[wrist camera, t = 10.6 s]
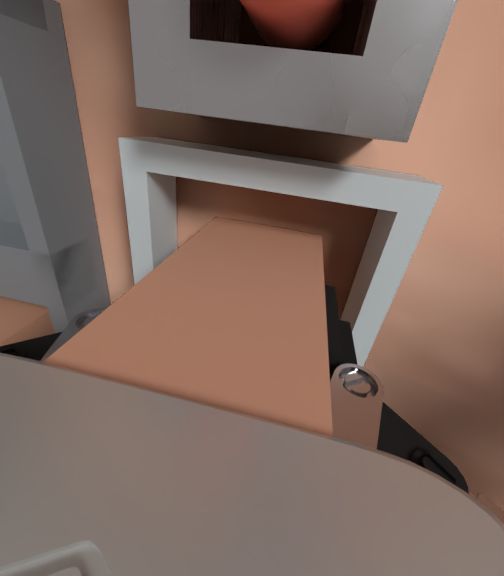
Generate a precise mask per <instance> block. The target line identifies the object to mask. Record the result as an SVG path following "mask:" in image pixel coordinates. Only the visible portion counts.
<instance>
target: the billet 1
mask: <svg viewBox="0 0 504 576" xmlns="http://www.w3.org/2000/svg"><path fill="white" fill-rule="evenodd" d="M50 334H55V331H54V328H53V325H52V322H51V318H50V315H49V312H48V309H47V307H46V306H41V305H37V304H33V303H28V302H24V301H20V300H15V299H11V298H7V297H2V296H0V346H4V345H8V344H12V343H16V342H21V341H25V340H29V339H33V338H38V337H42V336H46V335H50Z"/></svg>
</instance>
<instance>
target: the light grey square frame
mask: <svg viewBox="0 0 504 576" xmlns="http://www.w3.org/2000/svg"><path fill="white" fill-rule="evenodd" d="M118 141H119V149H120V158H121V167H122V176H123V185H124V194H125V203H126V212H127V221H128V230H129V238H130V247H131V256H132V265H133V274H134V283H135V284H137V283H138V282H139V281H140V280H141V279H143V278H144V277H145V276H146V275H147V274H149V273H150V272H151V271H152V270H153V269H155V268H156V267H157V266H158V265H159V264H160V263H162V262H163V261H164V260H165V259H166V258H168V257H169V256H170V255H171V254H172V253H174V252H175V251H176V250H177V206H176V176H177V177H183V178H189V179H195V180H202V181H208V182H214V183H220V184H226V185H232V186H239V187H245V188H251V189H257V190H263V191H270V192H276V193H282V194H288V195H294V196H301V197H307V198H313V199H319V200H325V201H332V202H338V203H344V204H350V205H356V206H363V207H369V208H375V209H378V212H377V215H376V218H375V221H374V223H373V226H372V229H371V232H370V235H369V238H368V241H367V244H366V247H365V250H364V252H363V255H362V258H361V261H360V264H359V267H358V270H357V273H356V276H355V279H354V282H353V284H352V287H351V290H350V293H349V296H348V299H347V302H346V305H345V308H344V311H343V314H342V316H341V319H340V320H343V321H348V322H350V325H351V330H352V336H353V342H354V347H355V353H356V358H357V364H358V365H359V366H362V367H363V366H364V364H365V361H366V359H367V357H368V354H369V352H370V350H371V348H372V345H373V343H374V341H375V339H376V336H377V334H378V332H379V330H380V327H381V325H382V323H383V321H384V318H385V316H386V314H387V312H388V309H389V307H390V305H391V302H392V300H393V298H394V296H395V293H396V291H397V289H398V287H399V284H400V282H401V280H402V278H403V275H404V273H405V271H406V269H407V266H408V264H409V262H410V260H411V257H412V255H413V253H414V250H415V248H416V246H417V244H418V241H419V239H420V237H421V235H422V232H423V230H424V228H425V226H426V223H427V221H428V219H429V217H430V214H431V212H432V210H433V208H434V205H435V203H436V201H437V199H438V196H439V194H440V192H441V189H442V187H443V185H441V184H438V183H436V182H433V181H431V180H428V179H426V178H424V177H421V176H419V175H413V174H406V173H400V172H393V171H386V170H379V169H372V168H365V167H358V166H352V165H345V164H338V163H331V162H324V161H317V160H310V159H303V158H297V157H290V156H283V155H276V154H269V153H262V152H255V151H249V150H242V149H235V148H228V147H221V146H214V145H207V144H200V143H194V142H187V141H180V140H173V139H166V138H159V137H118Z"/></svg>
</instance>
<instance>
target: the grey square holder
mask: <svg viewBox="0 0 504 576" xmlns="http://www.w3.org/2000/svg"><path fill="white" fill-rule="evenodd" d="M456 3H457V0H365V2H364V6H363V10H362V15H361V19H360V23H359V28H358V32H357V36H356V41H355V45H354V49H353V53H352V55H346V54H336V53H326V52H316V51H306V50H296V49H286V48H277V47H267V46H257V45H247V44H239V32H240V18H241V1H240V0H128V5H129V18H130V31H131V43H132V56H133V69H134V81H135V94H136V106H137V107H143V108H150V109H157V110H164V111H170V112H177V113H184V114H191V115H198V116H205V117H212V118H220V119H227V120H235V121H242V122H250V123H257V124H265V125H272V126H280V127H287V128H295V129H302V130H310V131H317V132H325V133H332V134H340V135H347V136H354V137H362V138H369V139H378V140H387V141H397V142H406V143H407V142H408V139H409V136H410V133H411V131H412V128H413V125H414V122H415V119H416V116H417V114H418V111H419V108H420V105H421V102H422V99H423V97H424V94H425V91H426V88H427V85H428V82H429V80H430V77H431V74H432V71H433V68H434V65H435V63H436V60H437V57H438V54H439V51H440V48H441V46H442V43H443V40H444V37H445V34H446V32H447V29H448V26H449V23H450V20H451V17H452V15H453V12H454V9H455V6H456Z"/></svg>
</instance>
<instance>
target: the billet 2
mask: <svg viewBox="0 0 504 576" xmlns="http://www.w3.org/2000/svg"><path fill="white" fill-rule="evenodd" d="M44 362H45V363H49V364H53V365H57V366H61V367H65V368H69V369H73V370H77V371H81V372H85V373H89V374H93V375H97V376H101V377H105V378H109V379H113V380H117V381H121V382H125V383H129V384H133V385H137V386H141V387H145V388H149V389H153V390H156V391H160V392H164V393H168V394H172V395H176V396H180V397H184V398H188V399H191V400H195V401H199V402H203V403H207V404H211V405H215V406H219V407H223V408H226V409H230V410H234V411H238V412H242V413H246V414H249V415H253V416H257V417H261V418H265V419H268V420H272V421H276V422H280V423H284V424H287V425H291V426H295V427H299V428H303V429H306V430H310V431H314V432H318V433H322V434H325V435H329V436H332V437H333V427H332V409H331V391H330V373H329V355H328V337H327V319H326V301H325V283H324V265H323V247H322V235H318V234H312V233H307V232H301V231H295V230H290V229H284V228H278V227H273V226H267V225H261V224H256V223H250V222H244V221H239V220H233V219H227V218H222V217H215V218H214V219H213V220H212V221H211V222H209V223H208V224H207V225H206V226H205V227H203V228H202V229H201V230H200V231H199V232H197V233H196V234H195V235H194V236H193V237H192V238H190V239H189V240H188V241H187V242H186V243H184V244H183V245H182V246H181V247H180V248H178V249H177V250H176V251H175V252H174V253H172V254H171V255H170V256H169V257H168V258H166V259H165V260H164V261H163V262H162V263H160V264H159V265H158V266H157V267H156V268H155V269H153V270H152V271H151V272H150V273H149V274H147V275H146V276H145V277H144V278H143V279H141V280H140V281H139V282H138V283H137V284H135V285H134V286H133V287H132V288H131V289H129V290H128V291H127V292H126V293H125V294H123V295H122V296H121V297H120V298H119V299H118V300H116V301H115V302H114V303H113V304H112V305H110V306H109V307H108V308H107V309H106V310H104V311H103V312H102V313H101V314H100V315H98V316H97V317H96V318H95V319H94V320H92V321H91V322H90V323H89V324H88V325H86V326H85V327H84V328H83V329H82V330H81V331H79V332H78V333H77V334H76V335H75V336H73V337H72V338H71V339H70V340H69V341H67V342H66V343H65V344H64V345H63V346H61V347H60V348H59V349H58V350H57V351H55V352H54V353H53V354H52V355H51V356H49V357H48V358H47V359H46V360H45V361H44Z"/></svg>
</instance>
